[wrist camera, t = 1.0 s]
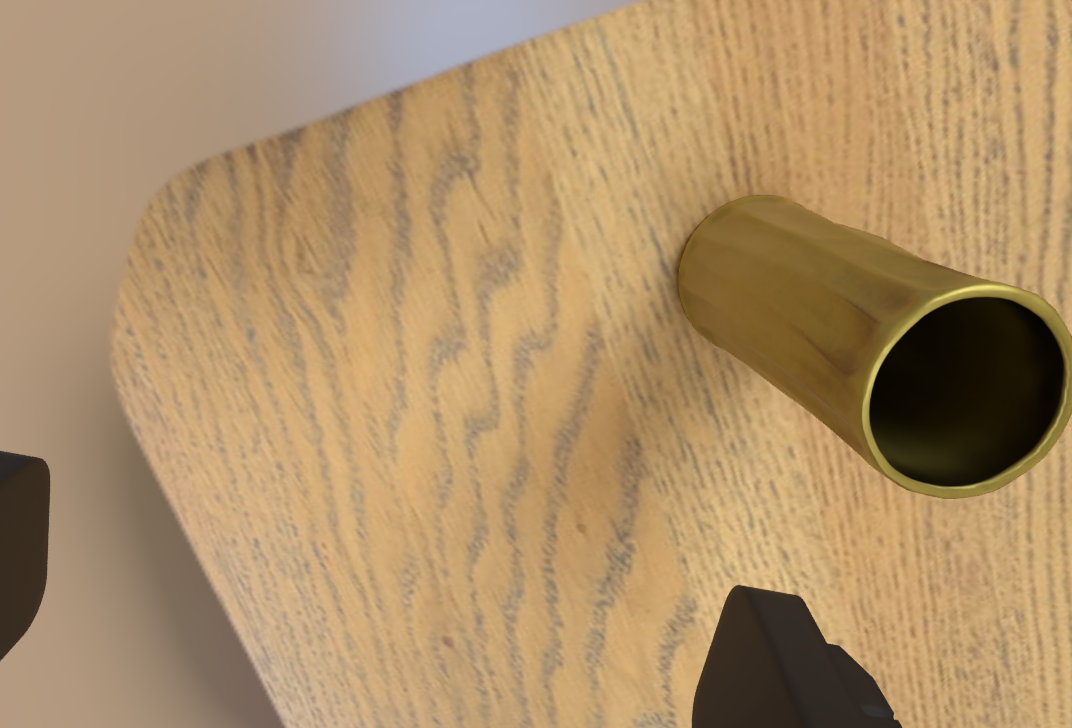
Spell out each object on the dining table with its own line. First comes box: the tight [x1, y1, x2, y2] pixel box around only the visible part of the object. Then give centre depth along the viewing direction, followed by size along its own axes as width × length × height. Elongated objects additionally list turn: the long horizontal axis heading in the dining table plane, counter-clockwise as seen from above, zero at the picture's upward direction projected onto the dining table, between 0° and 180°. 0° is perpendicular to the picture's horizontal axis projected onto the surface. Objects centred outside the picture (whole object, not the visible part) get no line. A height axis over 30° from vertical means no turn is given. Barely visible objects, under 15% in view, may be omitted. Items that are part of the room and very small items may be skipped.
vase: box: [678, 195, 1072, 499], centre depth 26 cm, size 6×6×14 cm
